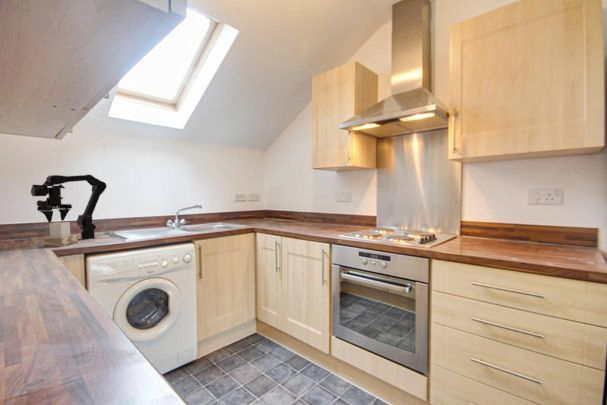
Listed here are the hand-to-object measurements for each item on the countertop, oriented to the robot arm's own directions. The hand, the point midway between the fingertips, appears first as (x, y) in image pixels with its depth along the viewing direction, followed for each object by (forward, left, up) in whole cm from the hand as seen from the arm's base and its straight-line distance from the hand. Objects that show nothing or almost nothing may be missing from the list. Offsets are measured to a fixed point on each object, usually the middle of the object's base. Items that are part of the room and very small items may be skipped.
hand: (56, 221), depth 177 cm
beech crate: (-1, +11, -13) cm, 17 cm away
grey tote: (-1, +11, -12) cm, 16 cm away
